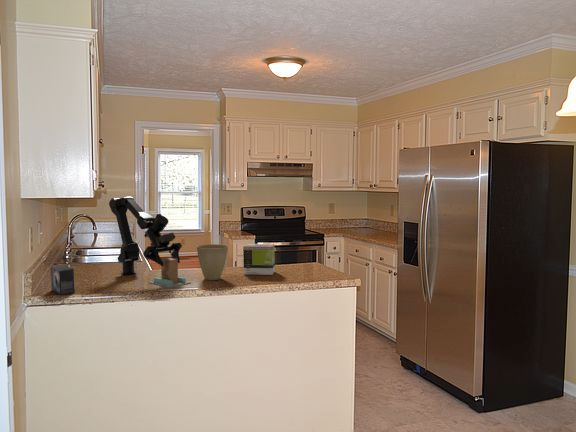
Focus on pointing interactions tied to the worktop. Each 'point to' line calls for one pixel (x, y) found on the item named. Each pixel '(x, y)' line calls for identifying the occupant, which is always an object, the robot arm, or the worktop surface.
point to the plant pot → (212, 260)
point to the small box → (62, 279)
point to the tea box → (259, 259)
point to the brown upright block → (170, 269)
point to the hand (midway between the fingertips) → (171, 264)
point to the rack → (169, 282)
